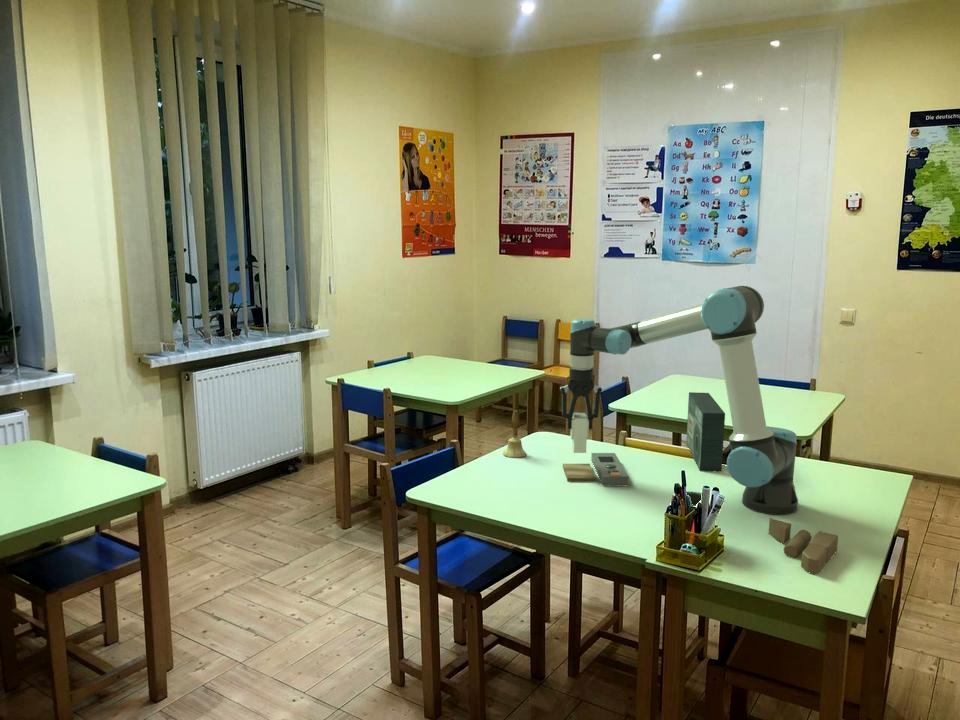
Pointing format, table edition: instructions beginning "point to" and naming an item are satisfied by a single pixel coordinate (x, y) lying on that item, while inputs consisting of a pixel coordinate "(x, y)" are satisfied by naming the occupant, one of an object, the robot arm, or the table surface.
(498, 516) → the table surface
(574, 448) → the block
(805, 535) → the wooden block set
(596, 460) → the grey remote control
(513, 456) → the hand bell
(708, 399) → the cassette player
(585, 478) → the walnut board
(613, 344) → the robot arm
